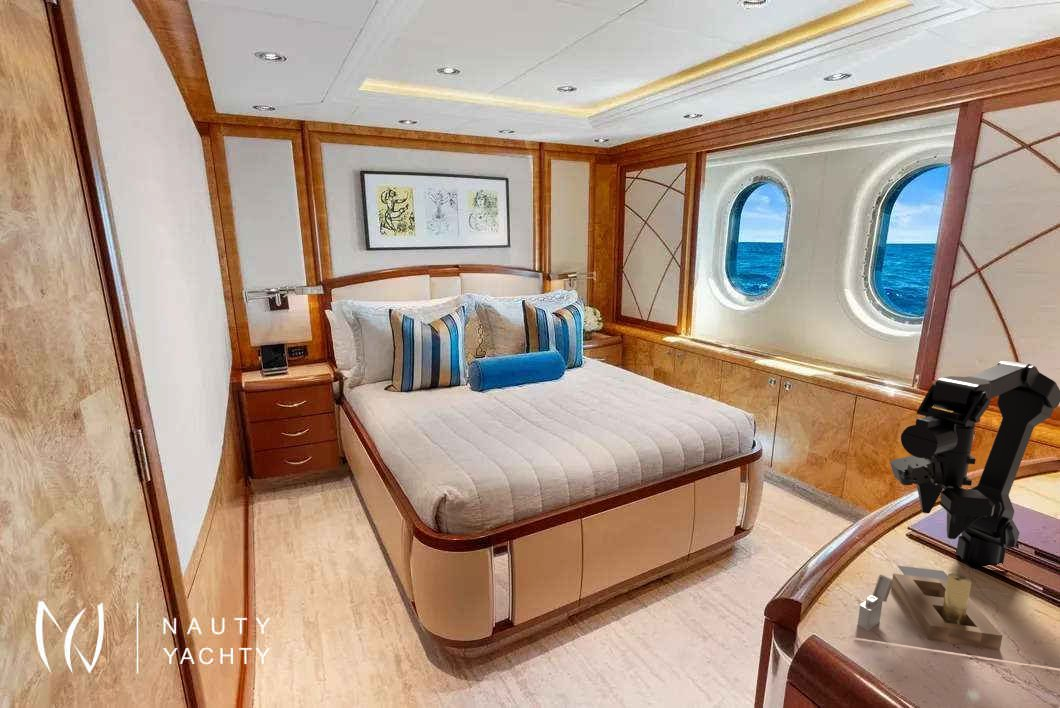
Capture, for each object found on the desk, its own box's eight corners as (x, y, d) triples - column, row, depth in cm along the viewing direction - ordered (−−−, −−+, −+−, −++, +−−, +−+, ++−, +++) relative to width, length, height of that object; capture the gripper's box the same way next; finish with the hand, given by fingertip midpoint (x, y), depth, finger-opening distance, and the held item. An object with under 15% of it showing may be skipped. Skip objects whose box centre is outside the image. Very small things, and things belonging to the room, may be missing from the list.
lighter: (867, 632, 86) (873, 591, 84) (856, 626, 87) (862, 585, 86) (888, 617, 89) (894, 577, 88) (877, 611, 91) (883, 571, 89)
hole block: (951, 595, 94) (954, 580, 94) (999, 651, 81) (1002, 635, 81) (891, 587, 97) (893, 573, 96) (927, 641, 84) (930, 625, 83)
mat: (943, 572, 101) (943, 570, 101) (962, 594, 94) (963, 593, 94) (897, 566, 103) (897, 565, 103) (913, 588, 96) (914, 587, 96)
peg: (956, 625, 87) (965, 574, 85) (966, 638, 84) (975, 585, 82) (935, 623, 88) (944, 572, 86) (945, 635, 85) (954, 583, 83)
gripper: (878, 426, 102) (869, 497, 105) (924, 464, 84) (911, 547, 88) (942, 430, 99) (931, 503, 103) (1003, 470, 82) (987, 556, 85)
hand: (937, 525), depth 94 cm, fingers open, 9 cm apart
